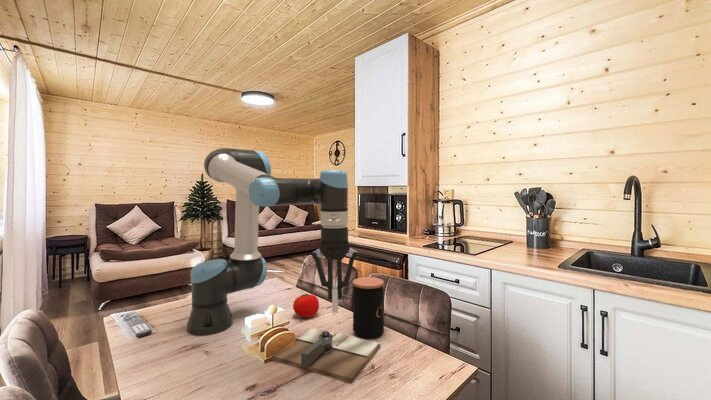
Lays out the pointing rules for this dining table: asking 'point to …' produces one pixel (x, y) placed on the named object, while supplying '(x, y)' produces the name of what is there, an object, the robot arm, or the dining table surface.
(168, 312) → the dining table surface
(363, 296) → the coffee jar
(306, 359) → the swing bar
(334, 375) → the lock board
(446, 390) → the dining table surface
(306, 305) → the tomato
